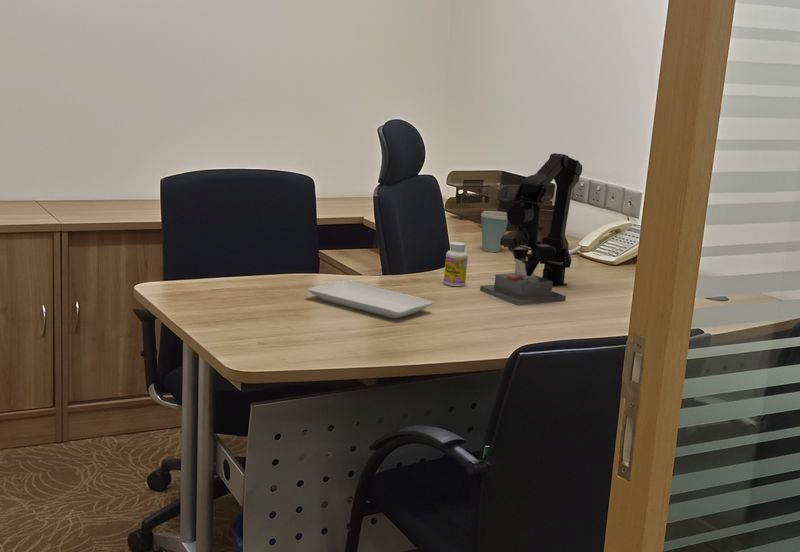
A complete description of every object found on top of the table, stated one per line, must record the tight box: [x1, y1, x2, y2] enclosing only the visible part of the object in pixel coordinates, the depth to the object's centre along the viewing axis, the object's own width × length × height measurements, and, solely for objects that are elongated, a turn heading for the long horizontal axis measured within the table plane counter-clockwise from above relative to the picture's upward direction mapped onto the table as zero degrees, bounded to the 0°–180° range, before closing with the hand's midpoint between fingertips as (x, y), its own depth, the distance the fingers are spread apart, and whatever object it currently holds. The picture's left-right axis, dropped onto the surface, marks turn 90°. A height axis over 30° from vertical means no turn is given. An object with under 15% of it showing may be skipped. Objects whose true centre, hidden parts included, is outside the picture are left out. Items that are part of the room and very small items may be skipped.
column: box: [514, 257, 535, 280], centre depth 275 cm, size 6×4×11 cm
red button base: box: [479, 272, 567, 306], centre depth 275 cm, size 18×18×6 cm
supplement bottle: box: [443, 241, 469, 288], centre depth 283 cm, size 7×7×13 cm
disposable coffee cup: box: [480, 210, 509, 253], centre depth 344 cm, size 11×11×15 cm
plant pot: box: [529, 203, 554, 247], centre depth 357 cm, size 16×16×16 cm
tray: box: [306, 279, 435, 319], centre depth 251 cm, size 17×32×4 cm, turn 54°
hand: (524, 274), depth 275 cm, fingers closed on column, 4 cm apart
